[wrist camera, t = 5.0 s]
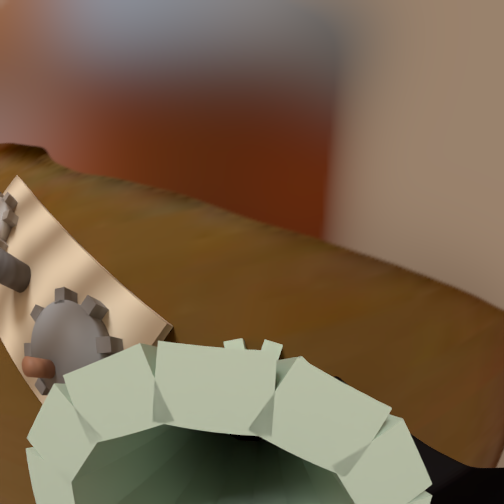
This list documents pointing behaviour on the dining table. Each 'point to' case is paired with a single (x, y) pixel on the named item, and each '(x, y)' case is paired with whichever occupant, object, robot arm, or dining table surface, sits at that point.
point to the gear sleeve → (218, 433)
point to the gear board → (60, 298)
